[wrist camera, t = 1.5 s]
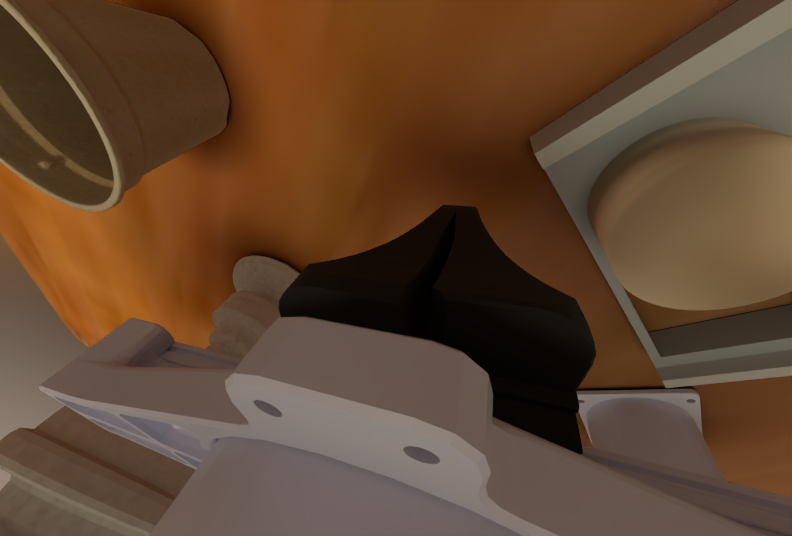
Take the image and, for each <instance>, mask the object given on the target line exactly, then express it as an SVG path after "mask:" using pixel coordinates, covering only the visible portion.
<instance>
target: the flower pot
mask: <svg viewBox="0 0 792 536" xmlns="http://www.w3.org/2000/svg"><path fill="white" fill-rule="evenodd" d="M228 108H229V95H228V91H227V87H226V84H225V81H224V79H223V76H222V74H221V71H220V69H219V67H218V65H217V64H216V62H215V60H214V58H213V57H212V55H211V54H210V52H209V51H208V49H207V48H206V47H205V45H204V44H203V43H202V42H201V40H199V39H198V38H197V37H196V36H194V35H193V34H192V33H190V32H189V31H188V30H186V29H185V28H184V27H182V26H181V25H180V24H178V23H177V22H176V21H174V20H173V19H170V18H168V17H165V16H160V15H156V14H152V13H148V12H144V11H141V10H137V9H134V8H130V7H126V6H122V5H119V4H115V3H111V2H108V1H104V0H0V162H1V163H3V164H4V165H5V166H6V167H7V168H9V169H10V170H11V171H12V172H14V173H15V174H17V175H18V176H19V177H21V178H22V179H23V180H25V181H27V182H28V183H30V184H31V185H32V186H34V187H35V188H37V189H39V190H40V191H41V192H44V193H45V194H47V195H48V196H50V197H52V198H54V199H56V200H58V201H61V202H62V203H64V204H66V205H69V206H72V207H75V208H78V209H81V210H84V211H97V212H98V211H99V212H100V211H104V210H107V209H110V208H112V207H114V206H116V205H117V204H118V203H119V202H120V201H121V199H122V198H123V196H124V193H125V191H127V190H128V189H130V188H132V187H134V186H135V185H136V184H137V183H138V182H139V181H140V180H141V178H142V176H143V175H144V174H146V173H148V172H150V171H151V170H153V169H155V168H157V167H159V166H160V165H162V164H164V163H166V162H168V161H170V160H171V159H173V158H175V157H177V156H179V155H180V154H182V153H184V152H186V151H188V150H190V149H191V148H193V147H195V146H197V145H199V144H201V143H203V142H205V141H207V140H208V139H210V138H212V137H215V136H217V135H218V134H220V133H221V132H222V131H223V130H224V128H225V127H226V125H227V121H226V119H227V113H228Z"/></svg>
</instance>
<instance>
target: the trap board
mask: <svg viewBox="0 0 792 536" xmlns="http://www.w3.org/2000/svg"><path fill="white" fill-rule="evenodd" d="M710 117H720V118H731V119H736V120H741V121H744V122H747V123H750V124H753V125H756V126H760V127H763V128H766V129H769V130H772V131H775V132H779V133H782V134H785V135H788V136H791V137H792V0H738V1H736V2H735V3H733V4H732V5H730V6H729V7H727V8H726V9H724V10H723V11H721V12H719V13H718V14H716V15H715V16H713V17H712V18H710V19H709V20H707V21H706V22H704V23H703V24H701V25H700V26H698V27H697V28H695V29H694V30H692V31H690V32H689V33H687V34H686V35H684V36H683V37H681V38H680V39H678V40H677V41H675V42H674V43H672V44H671V45H669V46H668V47H666V48H665V49H663V50H661V51H660V52H658V53H657V54H655V55H654V56H652V57H651V58H649V59H648V60H646V61H645V62H643V63H642V64H640V65H639V66H637V67H636V68H634V69H632V70H631V71H629V72H628V73H626V74H625V75H623V76H622V77H620V78H619V79H617V80H616V81H614V82H613V83H611V84H610V85H608V86H607V87H605V88H603V89H602V90H600V91H599V92H597V93H596V94H594V95H593V96H591V97H590V98H588V99H587V100H585V101H584V102H582V103H581V104H579V105H577V106H576V107H574V108H573V109H571V110H570V111H568V112H567V113H565V114H564V115H562V116H561V117H559V118H558V119H556V120H555V121H553V122H552V123H550V124H548V125H547V126H545V127H544V128H542V129H541V130H539V131H538V132H536V133H535V134H533V135H532V136H530V137H529V138H530V141H531V145H532V148H533V151H534V154H535V156H536V158H537V160H538V162H539V163H540V165H541V167H542V169H544V170H545V171H546V173H547V175H548V177H549V178H550V180H551V182H552V184H553V186H554V187H555V189H556V191H557V193H558V195H559V196H560V198H561V200H562V202H563V203H564V205H565V207H566V209H567V211H568V212H569V214H570V216H571V218H572V219H573V221H574V223H575V225H576V227H577V228H578V230H579V232H580V234H581V236H582V237H583V239H584V241H585V243H586V244H587V246H588V248H589V250H590V252H591V253H592V255H593V257H594V259H595V260H596V262H597V264H598V266H599V268H600V269H601V271H602V273H603V275H604V277H605V278H606V280H607V282H608V284H609V285H610V287H611V289H612V291H613V293H614V294H615V296H616V298H617V300H618V302H619V303H620V305H621V307H622V309H623V310H624V312H625V314H626V316H627V318H628V319H629V321H630V323H631V325H632V326H633V328H634V330H635V332H636V334H637V335H638V337H639V339H640V341H641V343H642V344H643V346H644V348H645V350H646V351H647V353H648V355H649V357H650V359H651V360H652V362H653V364H654V366H655V367H656V369H657V372H658V374H659V376H660V378H661V380H662V382H663V384H664V385H665V387H666V388H673V387H683V386H693V385H703V384H712V383H722V382H732V381H742V380H752V379H762V378H772V377H782V376H792V304H791V305H786V306H780V307H775V308H770V309H765V310H760V311H755V312H750V313H745V314H740V315H735V316H730V317H725V318H720V319H714V320H709V321H704V322H699V323H694V324H689V325H684V326H679V327H674V328H669V329H664V330H659V331H654V332H648V331H647V330H646V328H645V326H644V324H643V322H642V320H641V318H640V317H639V315H638V313H637V311H636V309H635V307H634V305H633V304H632V302H631V300H630V298H629V296H628V294H627V292H626V291H625V289H624V287H623V286H622V285H621V284H620V282H619V281H618V279H617V278H616V276H615V274H614V272H613V270H612V268H611V266H610V263H609V261H608V259H607V257H606V255H605V253H604V251H603V249H602V247H601V245H600V243H599V241H598V239H597V237H596V235H595V233H594V231H593V229H592V227H591V225H590V222H589V219H588V214H587V205H588V199H589V195H590V192H591V190H592V187H593V185H594V183H595V181H596V180H597V178H598V177H599V175H600V174H601V172H602V171H603V170H604V169H605V167H606V166H607V165H608V164H609V163H610V162H611V161H612V160H613V159H614V158H615V157H616V156H617V155H618V154H620V153H621V152H622V151H623V150H624V149H626V148H627V147H629V146H630V145H631V144H633V143H634V142H636V141H638V140H639V139H641V138H643V137H644V136H646V135H648V134H650V133H652V132H655V131H657V130H659V129H661V128H664V127H667V126H669V125H672V124H676V123H679V122H683V121H687V120H692V119H698V118H710Z"/></svg>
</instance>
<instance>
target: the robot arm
mask: <svg viewBox="0 0 792 536" xmlns="http://www.w3.org/2000/svg"><path fill="white" fill-rule="evenodd" d="M279 312H280V316H281V317H279V318H278V319H277V320H276V321H275V322H274V323H273V324H272V325H271V326H270V327H269V328H268V329H267V330H266V331H265V333H264V334H263V335H262V336H261V337H260V339H259V340H258V341H257V342H256V344H255V345H254V346H253V347H252V348H251V350H250V351H249V352H248V353H247V355H246V356H245V357H244V358H243V359H242V358H238V357H234V356H230V355H226V354H222V353H218V352H214V351H210V350H206V349H202V348H198V347H194V346H190V345H186V344H183V343H179V342H175V341H174V338H173V337H172V336H171V334H170V333H169V332H168V331H167V330H166V329H165V328H163V327H162V326H160V325H158V324H155V323H152V322H148V321H143V320H139V319H135V318H130V319H128V320H127V321H126V322H124V323H123V324H122V325H120V326H119V327H118V328H116V329H115V330H114V331H112V332H111V333H110V334H108V335H107V336H105V337H104V338H103V339H101V340H100V341H99V342H97V343H96V344H95V345H93V346H92V347H91V348H89V349H88V350H87V351H85V352H84V353H83V354H81V355H80V356H78V357H77V358H76V359H75V360H73V361H72V362H71V363H69V364H68V365H66V366H65V367H64V368H62V369H61V370H60V371H58V372H57V373H56V374H54V375H53V376H51V377H50V378H49V379H47V380H46V381H45V382H43V383H42V384H41V385H40V386H39V390H41V391H43V392H44V393H46V394H48V395H50V396H51V397H53V398H54V399H56V400H57V401H59V402H61V403H62V404H64V405H66V406H67V407H69V408H71V409H72V410H74V411H75V412H77V413H79V414H80V415H82V416H84V417H85V418H87V419H89V420H90V421H92V422H94V423H95V424H97V425H98V426H100V427H102V428H103V429H105V430H107V431H110V432H112V433H114V434H117V435H119V436H122V437H124V438H126V439H129V440H131V441H133V442H136V443H138V444H140V445H143V446H145V447H147V448H150V449H152V450H154V451H156V452H158V453H161V454H163V455H165V456H167V457H169V458H172V459H174V460H176V461H178V462H180V463H183V464H185V465H187V466H189V467H191V468H193V469H196V470H195V472H194V473H193V475H192V476H191V477H190V479H189V480H188V482H187V483H186V484H185V486H184V487H183V489H182V490H181V491H180V493H179V494H178V496H177V497H176V498H175V500H174V501H173V503H172V504H171V505H170V507H169V508H168V510H167V511H166V512H165V514H164V515H163V517H162V518H161V519H160V521H159V522H158V523H157V525H156V526H155V528H154V529H153V530H152V532H151V533H150V535H149V536H792V498H790V497H786V496H782V495H778V494H774V493H771V492H767V491H763V490H759V489H755V488H751V487H747V486H743V485H739V484H735V483H731V482H727V481H725V479H724V477H723V475H722V473H721V471H720V469H719V467H718V465H717V463H716V461H715V459H714V457H713V455H712V453H711V452H710V450H709V448H708V446H707V444H706V442H705V440H704V438H703V436H702V421H701V407H700V396H699V394H698V392H697V391H696V390H693V389H649V390H602V391H576V390H577V389H578V387H579V386H580V384H581V382H582V381H583V379H584V378H585V376H586V374H587V373H588V371H589V370H590V368H591V366H592V364H593V362H594V359H595V356H596V351H595V345H594V341H593V337H592V334H591V331H590V328H589V326H588V323H587V321H586V319H585V317H584V315H583V313H582V311H581V309H580V307H579V305H578V303H577V301H576V299H574V298H572V297H570V296H568V295H566V294H564V293H562V292H560V291H558V290H556V289H554V288H552V287H550V286H548V285H546V284H545V283H543V282H541V281H540V280H538V279H537V278H535V277H533V276H532V275H530V274H529V273H527V272H526V271H524V270H523V269H522V268H520V267H519V266H518V265H517V264H515V263H514V262H513V261H512V260H511V259H509V258H508V257H507V256H506V255H505V254H504V253H503V252H502V251H501V250H500V248H499V247H498V246H497V245H496V243H495V242H494V241H493V239H492V238H491V236H490V235H489V233H488V232H487V230H486V228H485V226H484V225H483V223H482V221H481V218H480V216H479V213H478V209H477V208H476V207H470V206H452V205H443V206H441V207H440V208H439V209H438V210H436V211H435V212H434V213H433V214H432V215H430V216H429V217H428V218H427V219H425V220H424V221H423V222H421V223H420V224H419V225H417V226H416V227H414V228H413V229H411V230H410V231H408V232H407V233H405V234H403V235H402V236H400V237H398V238H396V239H394V240H392V241H390V242H388V243H386V244H383V245H381V246H378V247H376V248H373V249H371V250H368V251H365V252H362V253H359V254H356V255H352V256H348V257H345V258H340V259H336V260H331V261H325V262H320V263H314V264H308V266H307V267H306V268H305V269H304V270H303V271H302V272H301V273H300V275H299V276H298V277H297V278H296V279H295V280H294V281H293V283H292V284H291V285H290V286H289V287H288V288H287V289H286V291H285V292H284V293H283V294H282V296H281V298H280V300H279ZM578 411H579V414H580V416H581V419H582V421H583V424H584V426H585V428H586V431H587V433H588V436H589V438H590V441H591V443H592V446H593V447H589V446H585V445H582V443H581V438H580V434H579V429H578V424H577V419H576V414H575V413H577V412H578Z"/></svg>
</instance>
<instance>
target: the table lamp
mask: <svg viewBox="0 0 792 536" xmlns="http://www.w3.org/2000/svg"><path fill="white" fill-rule="evenodd" d="M299 275H300V273H299V272H298V271H296V270H295V269H293V268H292V267H290V266H289V265H288V264H286V263H283V262H280V261H278V260H275V259H272V258H270V257H264V256H247V257H244V258H242V259H240V260H239V261H238V262H237V263H236V264H235V267H234V270H233V284H234V287H235V290H236V292H235V293H233V294H231V295H230V296H229V297H228V298H227V299H226V300H225V301H224V302H223V303H222V304H221V305H220V306H219V307H218V308H217V309H216V310H214V311H213V314H212V318H213V323H214V325H215V327H216V329H215V330H214V331H213V332H212V333H211V334H210V336H209V342H210V343H211V345H210V346H208V347H207V348H206V350H210V351H214V352H218V353H222V354H226V355H230V356H234V357H238V358H242V359H243V358H244V357H245V356H246V355H247V353H248V352H249V351H250V350H251V348H252V347H253V346H254V345H255V344H256V342H257V341H258V340H259V339H260V337H261V336H262V335H263V334H264V333H265V331H266V330H267V329H268V328H269V327H270V326H271V325H272V324H273V323H274V322H275V321H276V320H277V319H278V318H279V317H281V316H280V312H279V300H280V298H281V296H282V294H283V293H284V292H285V291H286V289H287V288H288V287H289V286H290V285H291V284H292V283H293V281H294V280H295V279H296V278H297V277H298V276H299ZM0 468H1V469H2V470H4V471H6V472H8V473H10V474H11V479H10V481H9V482H8V483H7V484H6V485H5V486H4V488H3V489H2V490H1V491H0V536H149V535H150V533H151V532H152V530H153V529H154V528H155V526H156V525H157V523H158V522H159V521H160V519H161V518H162V517H163V515H164V514H165V512H166V511H167V510H168V508H169V507H170V505H171V504H172V503H173V501H174V500H175V498H176V497H177V496H178V494H179V493H180V491H181V490H182V489H183V487H184V486H185V484H186V483H187V482H188V480H189V479H190V477H191V476H192V475H193V473H194V472H195V470H196V469H193V468H191V467H189V466H187V465H185V464H183V463H180V462H178V461H176V460H174V459H172V458H169V457H167V456H165V455H163V454H161V453H158V452H156V451H154V450H152V449H150V448H147V447H145V446H143V445H140V444H138V443H136V442H133V441H131V440H129V439H126V438H124V437H122V436H119V435H117V434H114V433H112V432H110V431H107V430H105V429H103V428H102V427H100V426H98V425H97V424H95V423H94V422H92V421H90V420H89V419H87V418H85V417H84V416H82V415H80V414H79V413H77V412H75V411H74V410H72V409H71V408H69V407H67V406H64V407H63V408H61V409H60V410H59V411H57V412H56V413H54V414H53V415H52V416H50V417H49V418H48V419H46V420H45V421H44V422H43V423H41V424H40V425H39V426H37V427H36V428H35V429H29V428H19V429H17V430H15V431H13V432H11V433H9V434H8V435H7V436H6V437H4V438H3V439H2V440H1V441H0Z"/></svg>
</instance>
